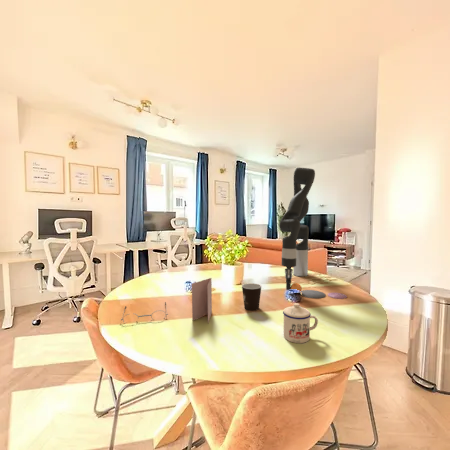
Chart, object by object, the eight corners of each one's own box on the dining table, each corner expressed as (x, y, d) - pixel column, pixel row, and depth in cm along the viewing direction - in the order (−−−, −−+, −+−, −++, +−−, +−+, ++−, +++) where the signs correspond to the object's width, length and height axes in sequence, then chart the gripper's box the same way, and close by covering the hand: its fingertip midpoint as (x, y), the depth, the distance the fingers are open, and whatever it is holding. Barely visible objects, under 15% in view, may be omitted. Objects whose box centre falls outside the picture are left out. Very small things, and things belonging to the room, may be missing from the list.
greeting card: (210, 311, 112) (209, 277, 111) (223, 315, 107) (223, 280, 107) (190, 320, 103) (190, 283, 102) (204, 325, 99) (203, 286, 98)
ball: (291, 280, 138) (302, 281, 136) (290, 290, 139) (301, 291, 137) (290, 285, 132) (301, 286, 131) (289, 295, 134) (301, 296, 132)
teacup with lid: (287, 344, 84) (288, 309, 83) (279, 331, 93) (279, 299, 92) (323, 342, 85) (323, 308, 84) (311, 330, 94) (312, 298, 93)
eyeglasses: (120, 325, 101) (120, 315, 100) (125, 309, 119) (125, 300, 119) (168, 319, 105) (167, 310, 105) (165, 304, 124) (165, 296, 123)
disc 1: (298, 289, 142) (298, 289, 142) (323, 291, 139) (323, 290, 139) (299, 297, 129) (299, 297, 129) (327, 299, 126) (327, 298, 126)
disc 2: (326, 292, 136) (326, 292, 136) (344, 293, 134) (344, 293, 134) (329, 298, 128) (329, 297, 128) (348, 299, 125) (348, 299, 125)
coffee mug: (260, 312, 111) (260, 289, 110) (240, 311, 112) (240, 288, 112) (262, 302, 122) (262, 282, 121) (244, 301, 124) (244, 281, 123)
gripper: (296, 259, 128) (296, 293, 129) (296, 255, 141) (295, 286, 142) (281, 258, 130) (280, 292, 130) (282, 254, 143) (281, 285, 143)
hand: (288, 289), depth 136 cm, fingers closed
